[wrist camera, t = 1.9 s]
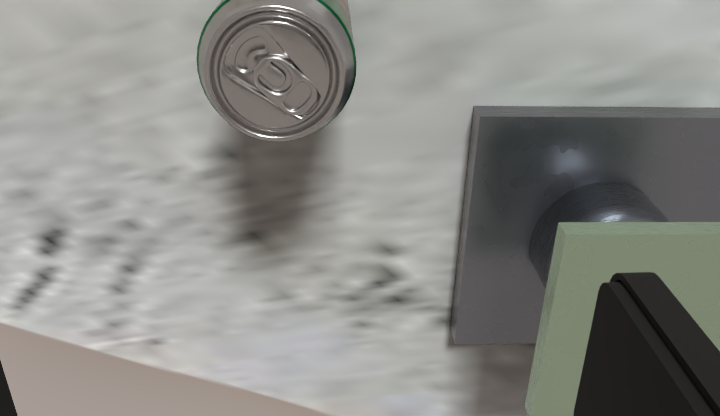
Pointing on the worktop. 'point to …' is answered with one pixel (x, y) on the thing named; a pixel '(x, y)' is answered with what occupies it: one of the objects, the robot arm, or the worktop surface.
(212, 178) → the worktop surface
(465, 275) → the stand
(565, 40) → the worktop surface
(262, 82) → the soda can
